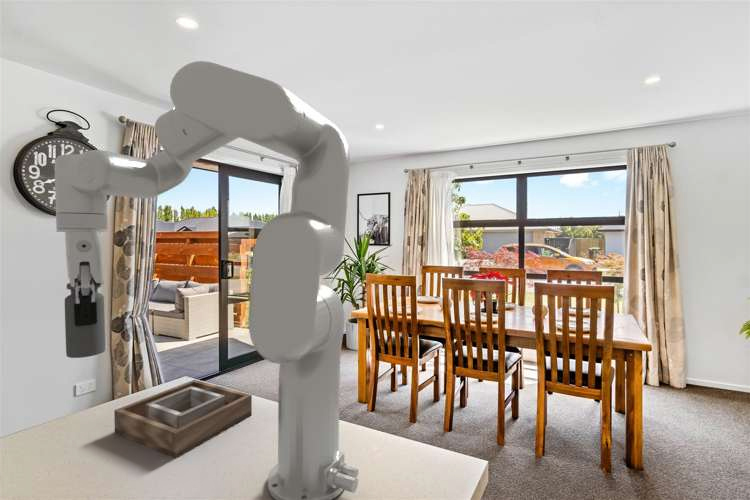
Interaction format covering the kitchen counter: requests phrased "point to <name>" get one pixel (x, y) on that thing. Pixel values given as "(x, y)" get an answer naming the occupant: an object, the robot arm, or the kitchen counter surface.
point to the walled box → (182, 416)
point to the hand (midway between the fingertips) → (85, 320)
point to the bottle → (84, 328)
